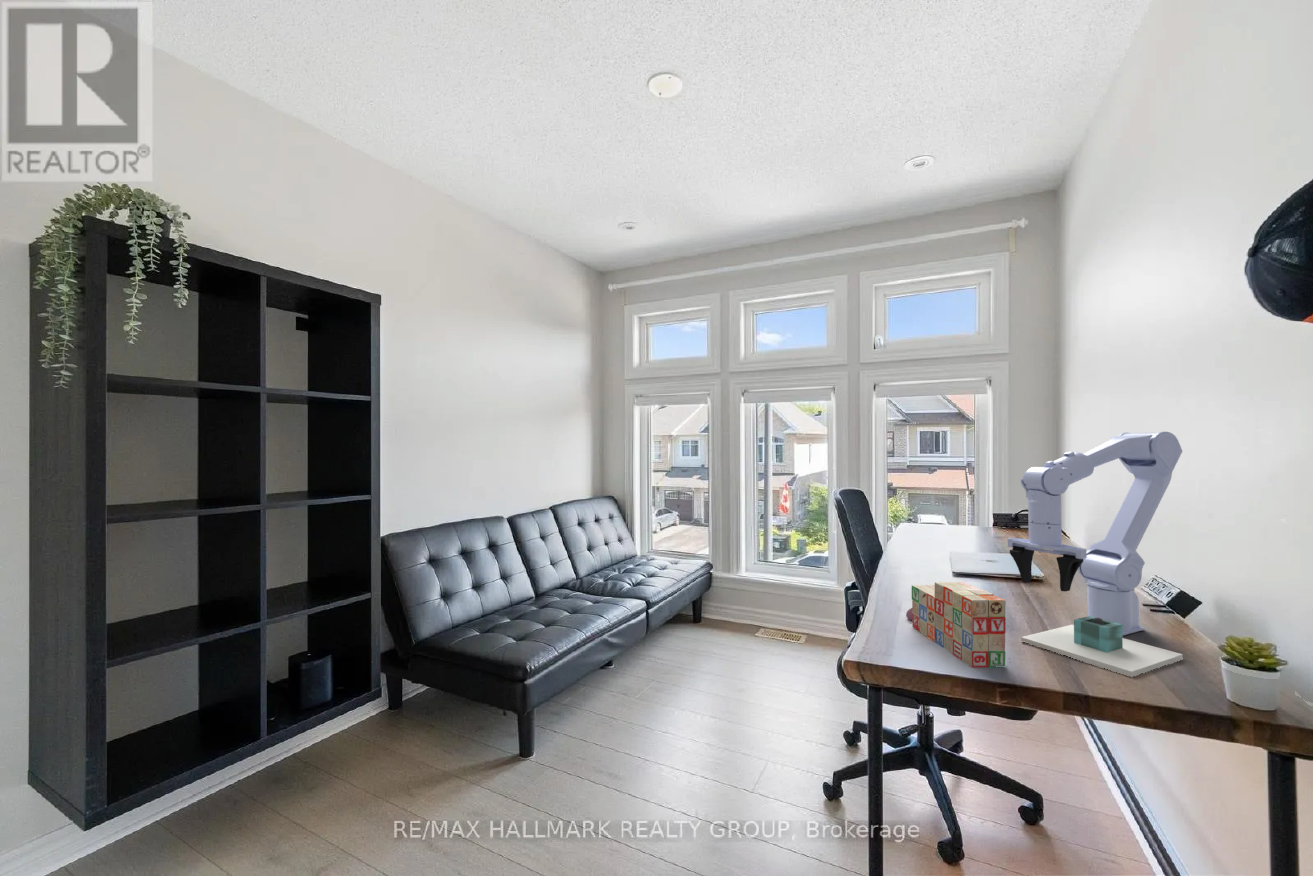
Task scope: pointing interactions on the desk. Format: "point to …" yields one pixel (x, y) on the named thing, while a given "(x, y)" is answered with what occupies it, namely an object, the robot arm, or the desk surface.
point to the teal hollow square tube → (1098, 634)
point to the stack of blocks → (962, 621)
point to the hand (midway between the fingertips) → (1045, 586)
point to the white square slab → (1123, 660)
